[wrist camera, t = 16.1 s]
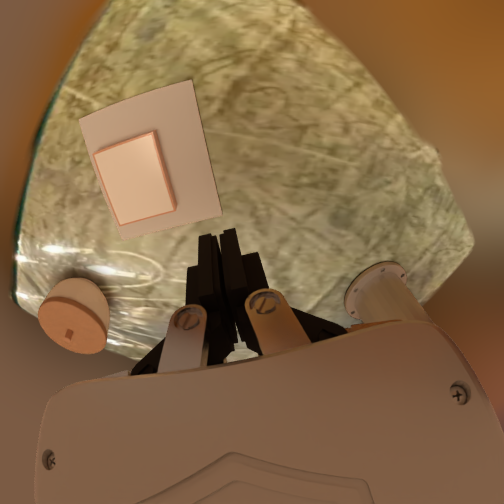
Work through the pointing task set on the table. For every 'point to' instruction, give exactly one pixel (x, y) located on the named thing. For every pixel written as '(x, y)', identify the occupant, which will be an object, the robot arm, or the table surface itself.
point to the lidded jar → (76, 315)
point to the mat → (173, 149)
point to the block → (136, 178)
